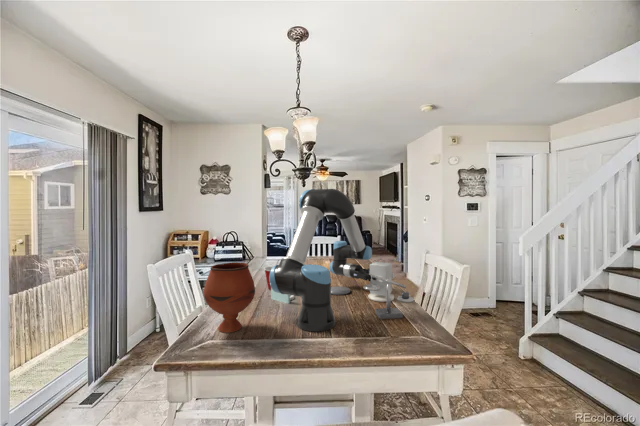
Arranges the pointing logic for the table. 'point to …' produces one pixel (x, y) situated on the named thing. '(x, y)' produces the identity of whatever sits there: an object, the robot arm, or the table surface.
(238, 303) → the goblet
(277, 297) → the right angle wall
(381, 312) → the balance
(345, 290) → the charcoal dish
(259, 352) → the table surface
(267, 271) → the plastic cup
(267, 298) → the table surface
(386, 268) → the supplement box
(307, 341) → the table surface
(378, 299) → the cream dish
